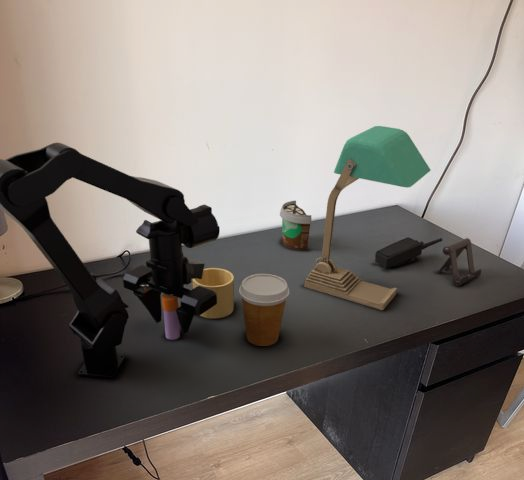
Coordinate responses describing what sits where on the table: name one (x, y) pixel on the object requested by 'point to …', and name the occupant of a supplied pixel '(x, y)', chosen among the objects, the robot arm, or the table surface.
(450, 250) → the tablet stand
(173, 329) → the glue stick
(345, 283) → the banker's lamp
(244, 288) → the disposable coffee cup
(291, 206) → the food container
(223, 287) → the pen pot
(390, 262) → the walkie-talkie
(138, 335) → the table surface
